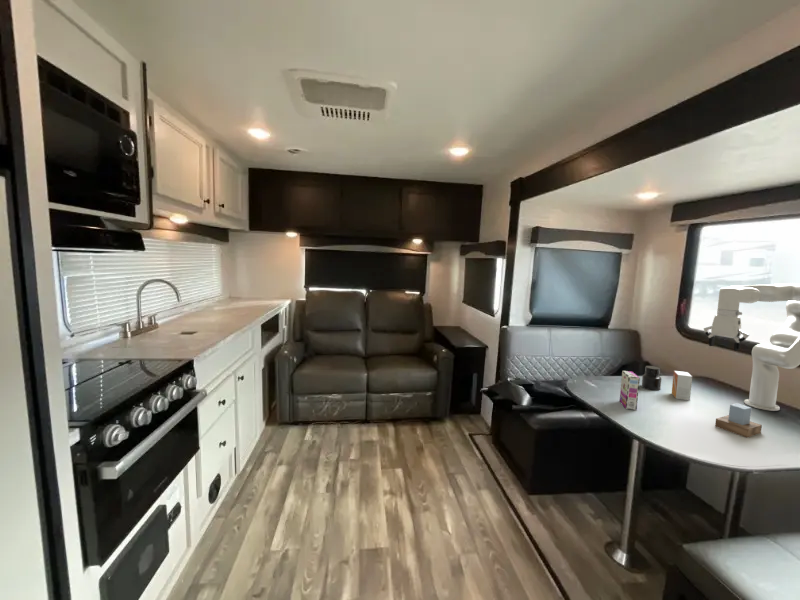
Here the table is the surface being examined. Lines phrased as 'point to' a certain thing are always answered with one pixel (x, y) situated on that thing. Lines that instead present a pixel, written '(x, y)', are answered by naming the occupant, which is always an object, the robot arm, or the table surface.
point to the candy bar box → (629, 390)
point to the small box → (681, 385)
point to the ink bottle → (651, 378)
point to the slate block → (739, 414)
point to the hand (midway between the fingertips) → (723, 348)
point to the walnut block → (738, 427)
